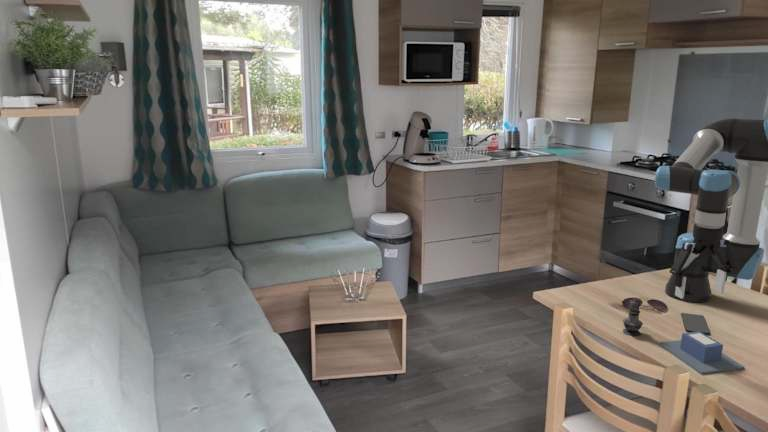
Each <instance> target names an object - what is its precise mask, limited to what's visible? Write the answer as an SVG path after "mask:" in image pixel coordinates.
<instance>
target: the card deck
mask: <svg viewBox="0 0 768 432" xmlns="http://www.w3.org/2000/svg"><path fill="white" fill-rule="evenodd" d="M680 340H681V346H680V349H681V350H683V351H685V352H686V353H688V354H689V355H691V356H692V357H694V358H696V359H697V360H699V361H700V362H702V363H709V362H715V361H721V356H722V353H723V350H724V349H723V348H724V344H723V343H721V342H719V341H718V340H716V339H713V338H712V337H710V335H705V334H704V333H702V332H700V331H696V332H682V333H681V339H680Z"/></svg>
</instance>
